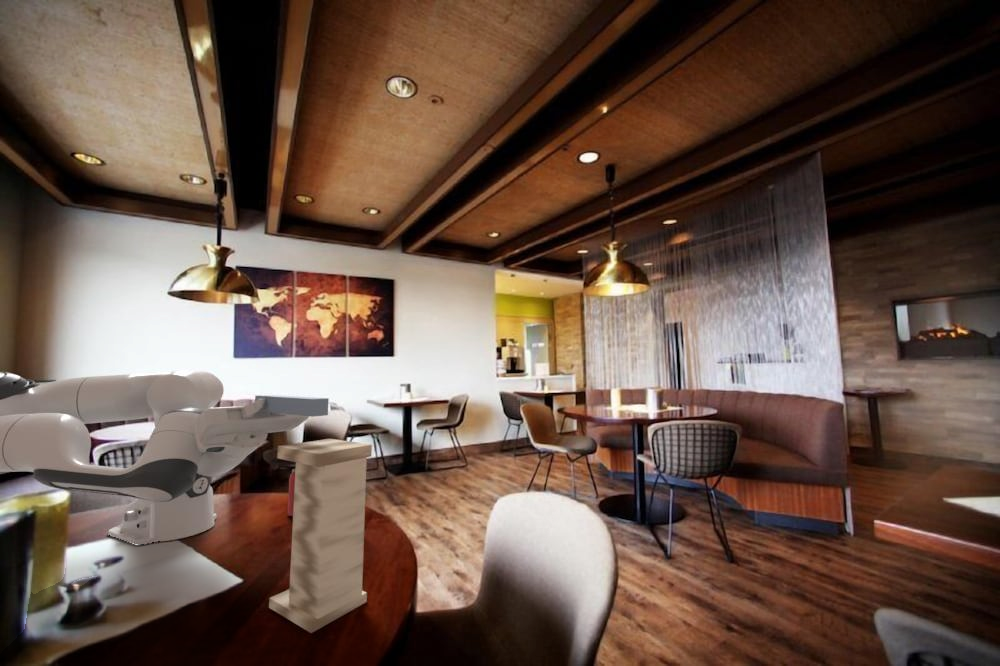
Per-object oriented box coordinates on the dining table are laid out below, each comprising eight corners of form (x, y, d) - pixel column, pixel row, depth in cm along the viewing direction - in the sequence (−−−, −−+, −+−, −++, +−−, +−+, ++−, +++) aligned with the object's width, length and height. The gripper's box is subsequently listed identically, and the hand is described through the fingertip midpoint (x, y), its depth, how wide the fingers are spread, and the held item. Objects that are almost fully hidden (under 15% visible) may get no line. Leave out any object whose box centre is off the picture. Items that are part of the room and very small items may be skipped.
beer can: (303, 519, 108) (305, 472, 109) (281, 517, 109) (284, 471, 110) (319, 511, 114) (321, 467, 115) (298, 509, 115) (300, 466, 117)
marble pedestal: (268, 607, 67) (277, 446, 70) (324, 581, 75) (330, 438, 78) (311, 633, 60) (319, 453, 63) (366, 602, 69) (371, 444, 71)
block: (254, 410, 82) (255, 395, 82) (269, 409, 84) (270, 394, 85) (312, 416, 71) (313, 399, 71) (327, 415, 73) (328, 398, 74)
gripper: (294, 439, 94) (326, 411, 88) (189, 453, 77) (220, 420, 71) (287, 414, 96) (319, 386, 90) (184, 422, 79) (215, 388, 73)
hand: (275, 401), depth 81 cm, fingers closed on block, 3 cm apart
